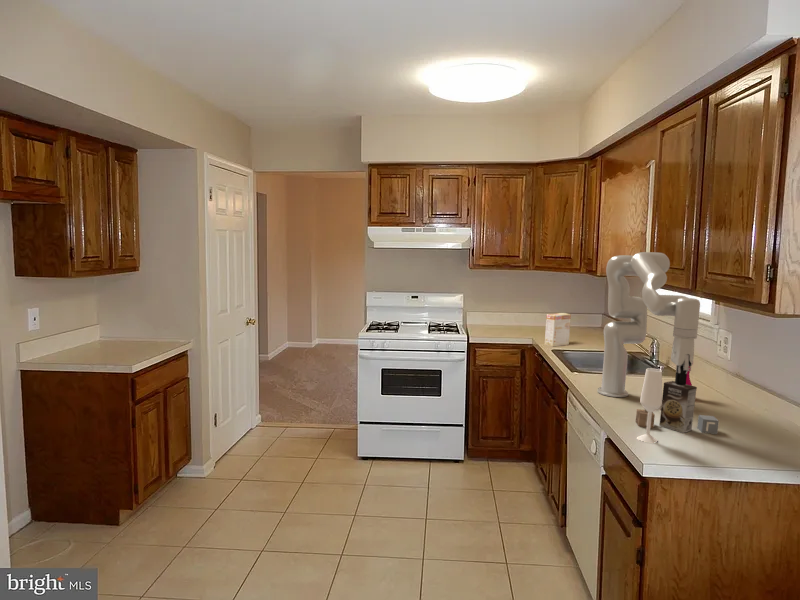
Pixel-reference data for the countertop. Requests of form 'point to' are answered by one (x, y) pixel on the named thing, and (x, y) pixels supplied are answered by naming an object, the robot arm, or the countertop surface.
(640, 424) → the walnut block one
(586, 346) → the countertop surface
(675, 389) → the coffee box
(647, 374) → the champagne flute
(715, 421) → the slate block seven
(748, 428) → the countertop surface
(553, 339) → the coffeecake box
